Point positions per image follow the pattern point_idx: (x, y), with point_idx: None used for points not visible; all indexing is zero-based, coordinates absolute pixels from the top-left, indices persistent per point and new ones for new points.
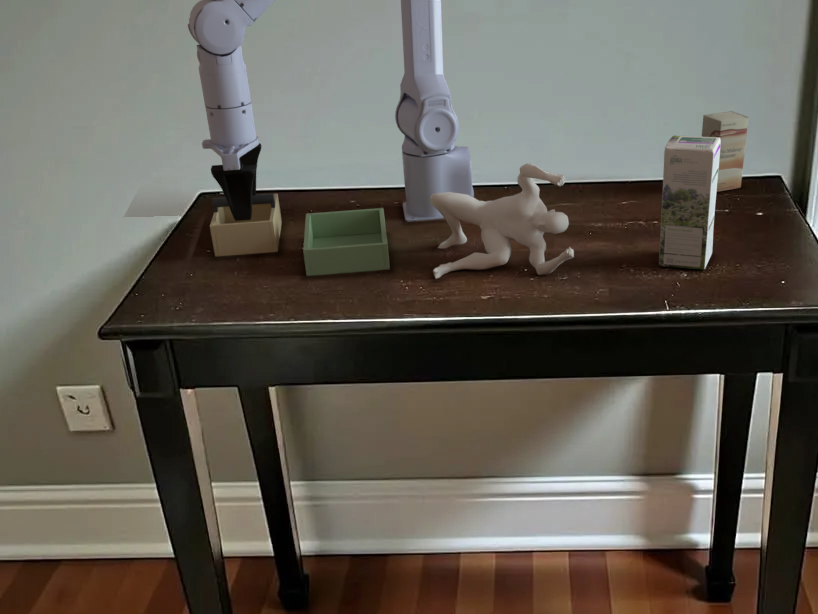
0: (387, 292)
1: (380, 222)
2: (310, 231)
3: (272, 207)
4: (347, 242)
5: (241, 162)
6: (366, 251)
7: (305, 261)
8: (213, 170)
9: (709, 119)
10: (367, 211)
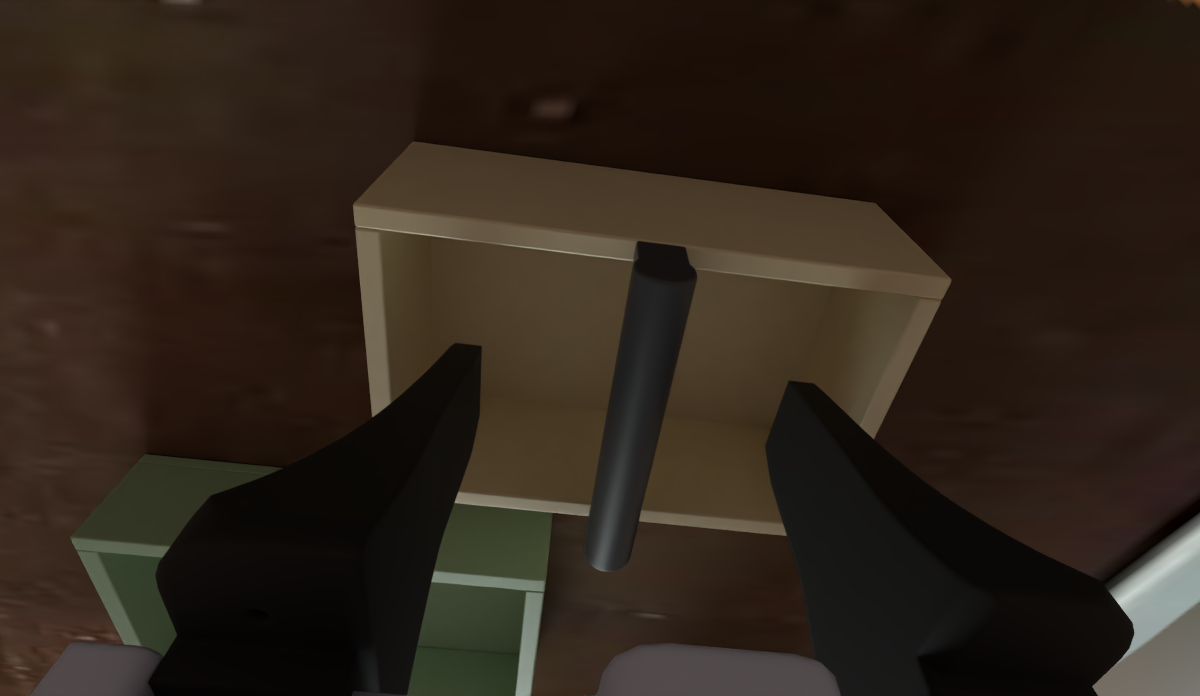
0: (47, 604)
1: None
2: None
3: (588, 510)
4: (457, 584)
5: (859, 617)
6: None
7: (100, 504)
8: (163, 560)
9: None
10: None
